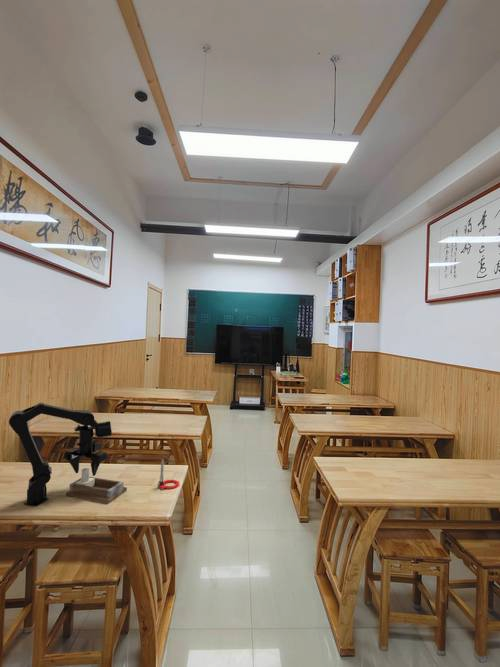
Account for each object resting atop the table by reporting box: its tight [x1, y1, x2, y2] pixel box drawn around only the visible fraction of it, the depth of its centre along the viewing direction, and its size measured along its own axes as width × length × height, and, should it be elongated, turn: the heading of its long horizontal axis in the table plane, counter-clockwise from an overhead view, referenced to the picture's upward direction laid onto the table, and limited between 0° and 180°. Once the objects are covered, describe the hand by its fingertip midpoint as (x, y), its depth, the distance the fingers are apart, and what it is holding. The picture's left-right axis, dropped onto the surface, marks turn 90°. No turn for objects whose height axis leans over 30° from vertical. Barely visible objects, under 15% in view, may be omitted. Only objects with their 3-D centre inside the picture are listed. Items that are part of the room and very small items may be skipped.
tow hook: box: [157, 458, 180, 491], centre depth 154 cm, size 8×13×9 cm
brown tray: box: [65, 476, 128, 505], centre depth 145 cm, size 12×22×4 cm, turn 75°
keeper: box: [75, 467, 95, 487], centre depth 147 cm, size 6×5×8 cm
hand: (85, 474), depth 147 cm, fingers open, 9 cm apart
